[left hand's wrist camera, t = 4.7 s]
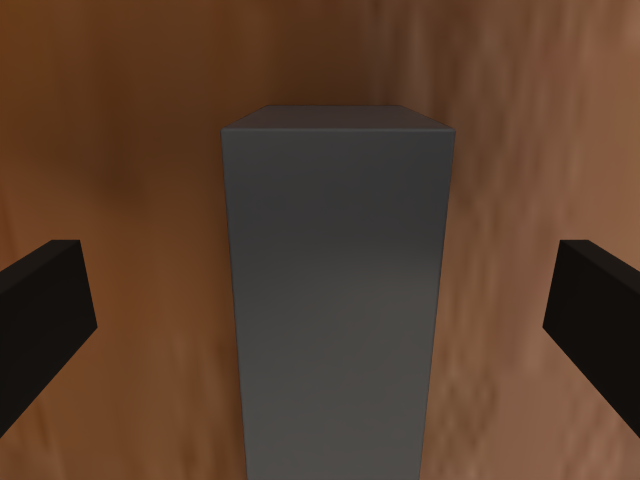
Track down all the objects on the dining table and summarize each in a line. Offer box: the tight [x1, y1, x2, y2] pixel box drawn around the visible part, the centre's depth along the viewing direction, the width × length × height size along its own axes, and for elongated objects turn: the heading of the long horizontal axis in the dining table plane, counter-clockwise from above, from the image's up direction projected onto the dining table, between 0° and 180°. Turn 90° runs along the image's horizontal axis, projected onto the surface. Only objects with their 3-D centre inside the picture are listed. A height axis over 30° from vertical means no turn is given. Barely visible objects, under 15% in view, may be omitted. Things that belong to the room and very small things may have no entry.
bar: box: [220, 105, 455, 480], centre depth 19 cm, size 29×6×8 cm, turn 0°
